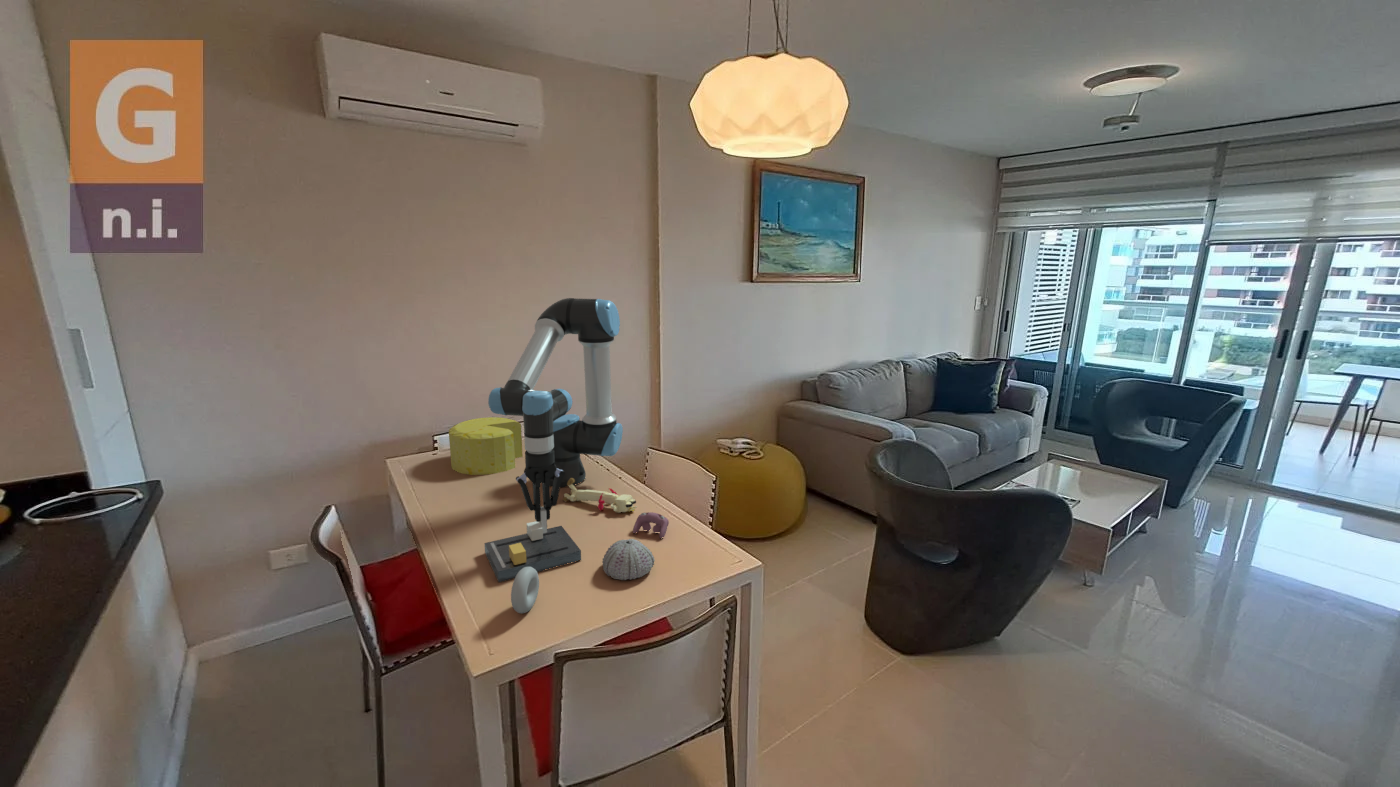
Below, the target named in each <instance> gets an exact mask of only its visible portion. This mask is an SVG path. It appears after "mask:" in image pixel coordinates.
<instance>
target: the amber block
mask: <svg viewBox="0 0 1400 787" xmlns="http://www.w3.org/2000/svg"><path fill="white" fill-rule="evenodd" d="M509 556H510V558H511V560H512V562H513V564H514V565H517V564H521V563H525V562H526V551H525V549H524V547H523V546H522V544H521V543H517V544H513V545H509Z"/></svg>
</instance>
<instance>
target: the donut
mask: <svg viewBox="0 0 1400 787" xmlns="http://www.w3.org/2000/svg"><path fill="white" fill-rule="evenodd" d="M539 590H540V578H539V572H537V571H536V570H535V569H534V568H532V567H524V568H522V569H521V570H520V571H519V572H518V573H517V575H516V577H515V578H514V579H513V581H512V586H511V591H510V602H511V606H512V609H513V610H514V611H515V612H517V613H518V614H525V613H528V612H529V611H530V610H531V609H532V608H533V607H534V606H535V605H534V604H536V601H537V598H538V596H539V595H538V594H539Z"/></svg>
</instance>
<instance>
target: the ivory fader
mask: <svg viewBox="0 0 1400 787" xmlns="http://www.w3.org/2000/svg"><path fill="white" fill-rule="evenodd" d="M526 534H528V536H529V537H530V539H531V540H532V541H534V540H539V539H543V528H542V527H541V525H540V524H539V522H537V521H536V520H534V521H532V522H531V521H530V522H526Z"/></svg>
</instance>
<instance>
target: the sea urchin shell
mask: <svg viewBox="0 0 1400 787" xmlns="http://www.w3.org/2000/svg"><path fill="white" fill-rule="evenodd" d="M652 552H653V551H651V550H650V549H649V547H648V546H646V545H645V544H643V543H642V542H641V541H639V540H637V539H635V538H628V539H620V540H617V541H615V542H614V543H612V545H610V547H608V548H607V550H606V552H605V554H604V555H603V558H602V561H601V562H602V565H601V566H602V568H603V571H604V573H605V574H606V575H607V577H610V576H611V577H610V578H613V579H614V580H618V581H619V580H621V581H627V580H630V581H631V580H636V579H637V578H638V579H639V578H642V577H643V576H645V575H646V574H649V572H650V571H652V568H654V565H655V562H656V560H655V557H654V555H653V553H652Z"/></svg>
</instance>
